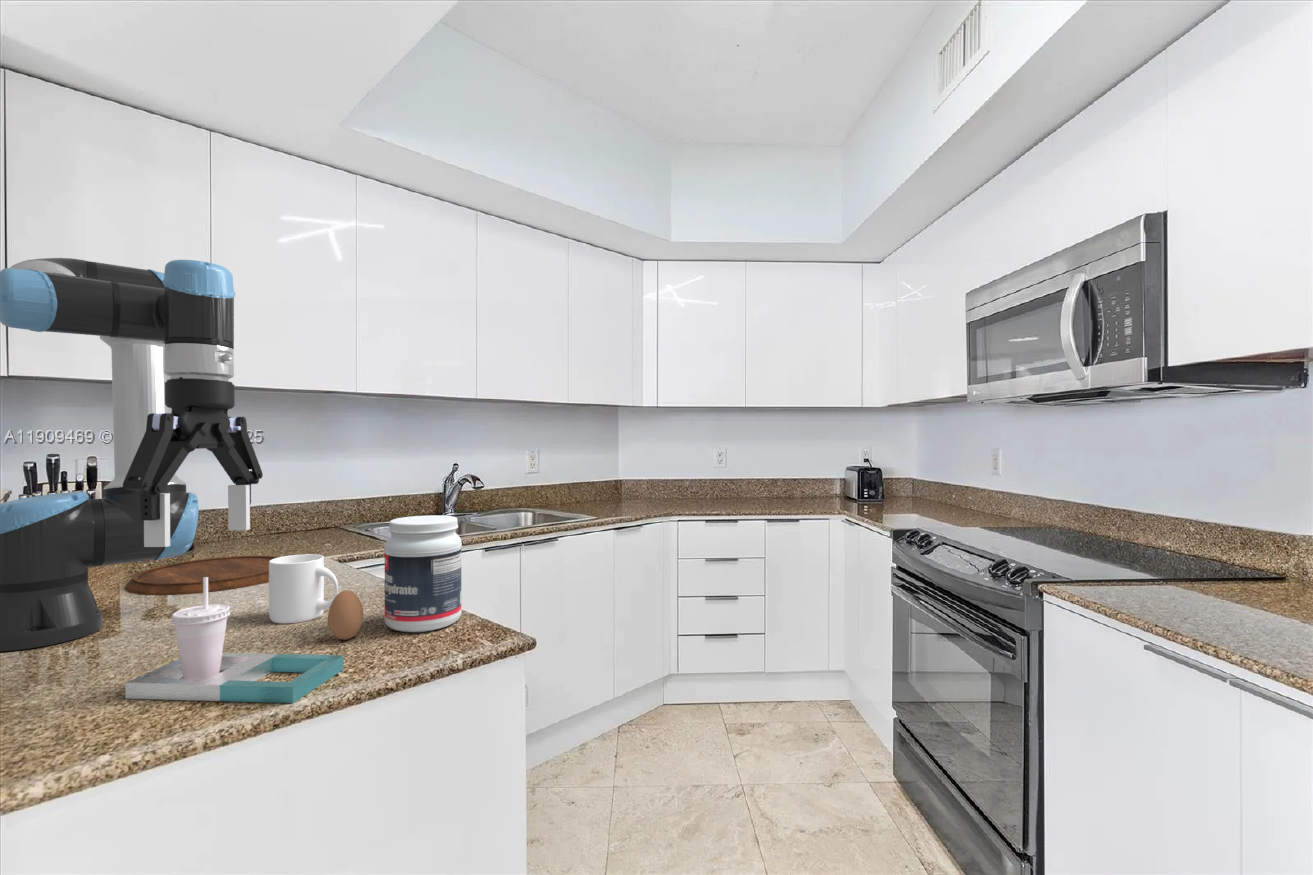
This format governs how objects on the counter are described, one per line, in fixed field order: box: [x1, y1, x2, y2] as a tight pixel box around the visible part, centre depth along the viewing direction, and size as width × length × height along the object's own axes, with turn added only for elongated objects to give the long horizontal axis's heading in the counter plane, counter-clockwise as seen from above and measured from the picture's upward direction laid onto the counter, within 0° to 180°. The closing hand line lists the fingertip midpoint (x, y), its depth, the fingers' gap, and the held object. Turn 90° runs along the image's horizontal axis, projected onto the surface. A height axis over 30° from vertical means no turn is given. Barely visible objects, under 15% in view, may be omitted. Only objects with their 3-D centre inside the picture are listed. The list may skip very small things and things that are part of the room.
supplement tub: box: [383, 514, 463, 633], centre depth 108 cm, size 13×13×18 cm
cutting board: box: [125, 555, 280, 596], centre depth 143 cm, size 32×32×3 cm
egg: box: [327, 589, 364, 641], centre depth 100 cm, size 5×5×8 cm
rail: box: [124, 652, 345, 704], centre depth 82 cm, size 22×11×2 cm, turn 86°
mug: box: [268, 553, 339, 625], centre depth 112 cm, size 9×12×11 cm
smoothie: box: [170, 577, 231, 680], centre depth 83 cm, size 6×6×14 cm
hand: (201, 537), depth 82 cm, fingers open, 13 cm apart
